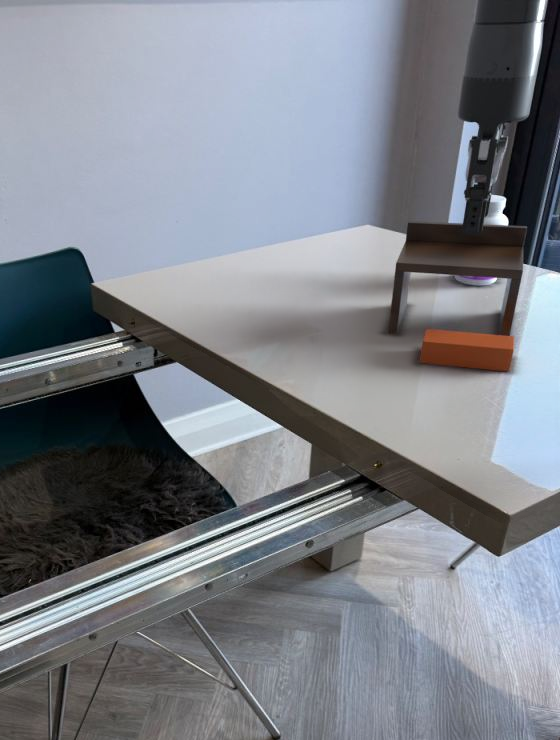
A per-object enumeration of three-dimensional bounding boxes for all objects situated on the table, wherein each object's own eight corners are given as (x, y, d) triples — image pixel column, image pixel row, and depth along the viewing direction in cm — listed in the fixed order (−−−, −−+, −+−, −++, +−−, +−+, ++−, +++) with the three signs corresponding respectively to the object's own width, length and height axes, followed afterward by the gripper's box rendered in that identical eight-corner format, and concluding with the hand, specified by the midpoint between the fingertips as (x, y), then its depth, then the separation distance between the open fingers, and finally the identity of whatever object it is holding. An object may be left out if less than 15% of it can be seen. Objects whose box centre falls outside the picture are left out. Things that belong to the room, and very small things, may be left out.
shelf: (509, 313, 116) (527, 226, 109) (507, 343, 106) (527, 250, 99) (398, 304, 121) (408, 220, 114) (387, 333, 111) (398, 243, 104)
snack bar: (509, 358, 103) (514, 336, 101) (509, 371, 99) (513, 349, 97) (422, 349, 106) (425, 328, 104) (419, 363, 103) (422, 341, 101)
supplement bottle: (447, 282, 128) (459, 199, 121) (464, 271, 132) (478, 191, 125) (486, 289, 125) (502, 205, 117) (503, 278, 129) (519, 196, 121)
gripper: (535, 78, 78) (504, 243, 87) (539, 64, 89) (511, 212, 98) (456, 78, 81) (434, 239, 90) (470, 65, 92) (449, 209, 101)
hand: (474, 225), depth 94 cm, fingers open, 8 cm apart
